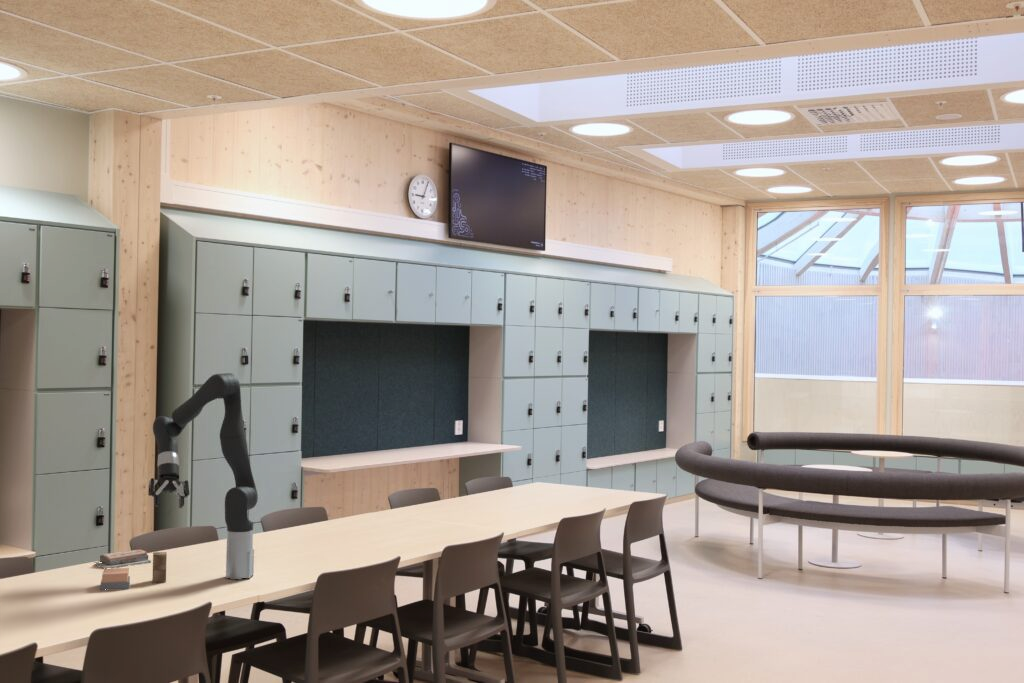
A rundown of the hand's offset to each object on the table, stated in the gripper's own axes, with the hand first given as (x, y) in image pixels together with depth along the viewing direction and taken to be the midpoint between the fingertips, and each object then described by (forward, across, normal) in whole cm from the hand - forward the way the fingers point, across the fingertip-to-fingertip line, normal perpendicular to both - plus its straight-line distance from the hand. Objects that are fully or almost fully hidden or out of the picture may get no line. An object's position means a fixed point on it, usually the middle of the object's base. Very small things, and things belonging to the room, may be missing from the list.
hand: (169, 506), depth 355 cm
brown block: (+25, -2, +8) cm, 27 cm away
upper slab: (+25, -17, +7) cm, 31 cm away
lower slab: (+28, -16, +9) cm, 33 cm away
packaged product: (+8, -5, +39) cm, 40 cm away
